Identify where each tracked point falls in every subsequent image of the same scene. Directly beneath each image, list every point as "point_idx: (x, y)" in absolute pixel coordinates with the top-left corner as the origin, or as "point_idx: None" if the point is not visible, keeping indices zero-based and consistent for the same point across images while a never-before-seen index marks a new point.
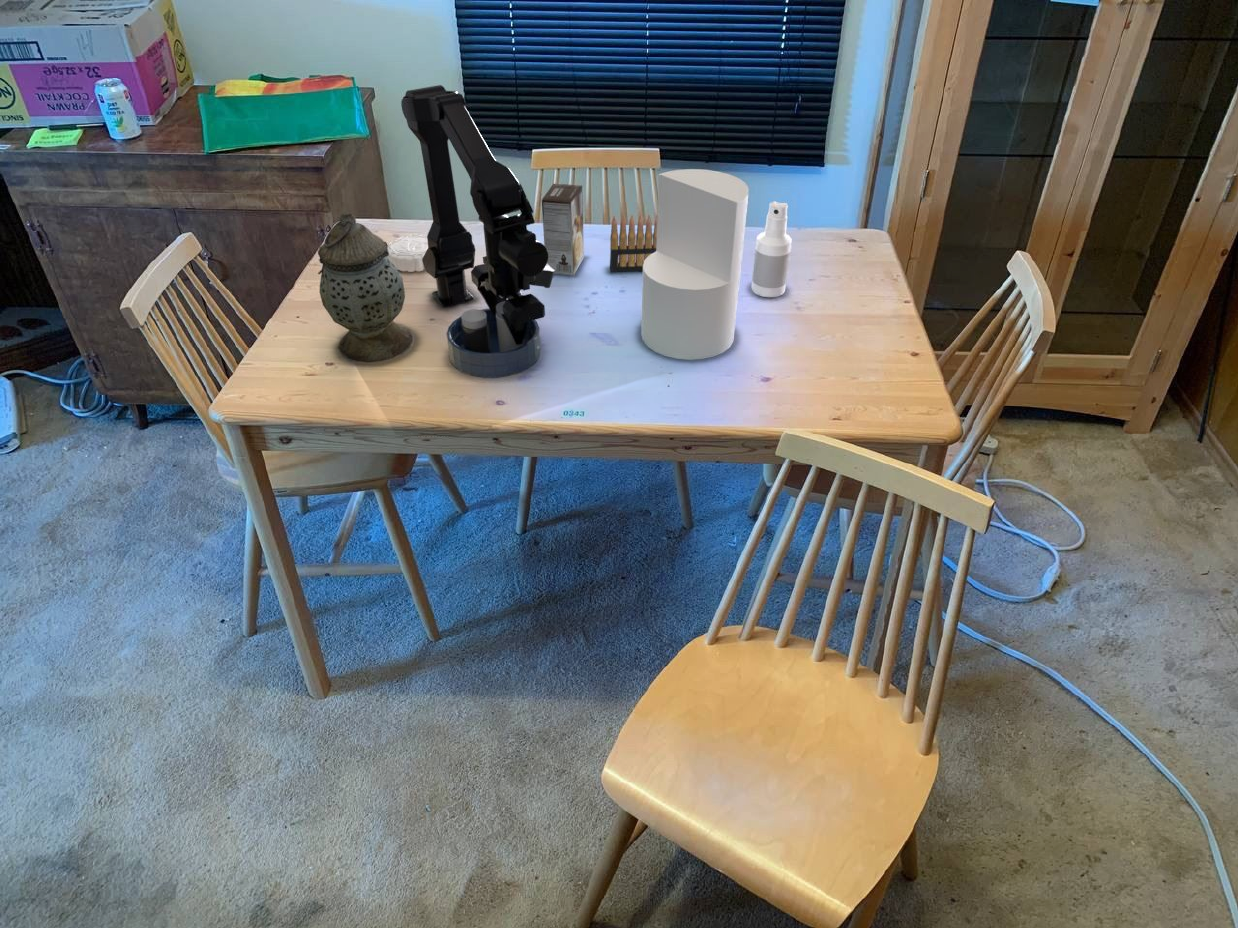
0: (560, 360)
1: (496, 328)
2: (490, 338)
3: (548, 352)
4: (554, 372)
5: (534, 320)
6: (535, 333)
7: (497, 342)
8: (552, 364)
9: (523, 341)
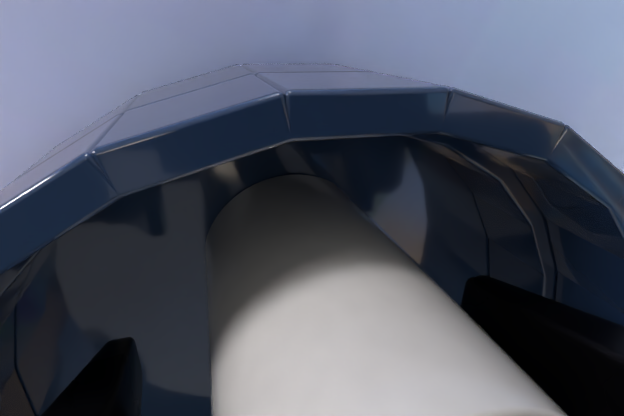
0: (548, 11)
1: (4, 320)
2: (102, 344)
3: (431, 37)
4: (600, 107)
5: (398, 108)
6: (608, 205)
7: (177, 314)
8: (544, 81)
9: (367, 213)
